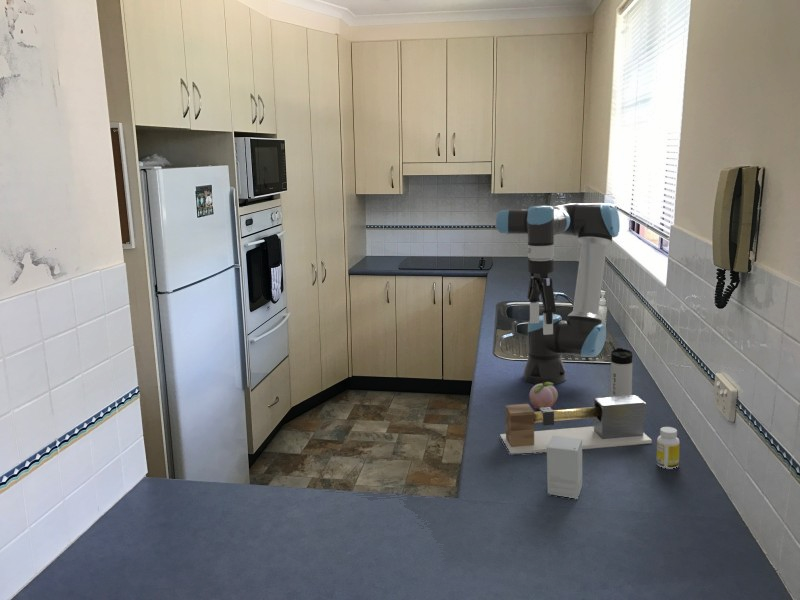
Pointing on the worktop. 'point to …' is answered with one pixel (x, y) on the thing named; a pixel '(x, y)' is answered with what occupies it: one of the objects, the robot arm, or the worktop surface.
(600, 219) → the robot arm
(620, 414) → the metal sleeve
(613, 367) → the travel mug
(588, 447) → the base board
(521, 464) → the worktop surface
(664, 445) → the supplement bottle
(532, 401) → the decorative fruit
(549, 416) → the brass rod
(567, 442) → the supplement box
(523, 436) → the walnut socket
